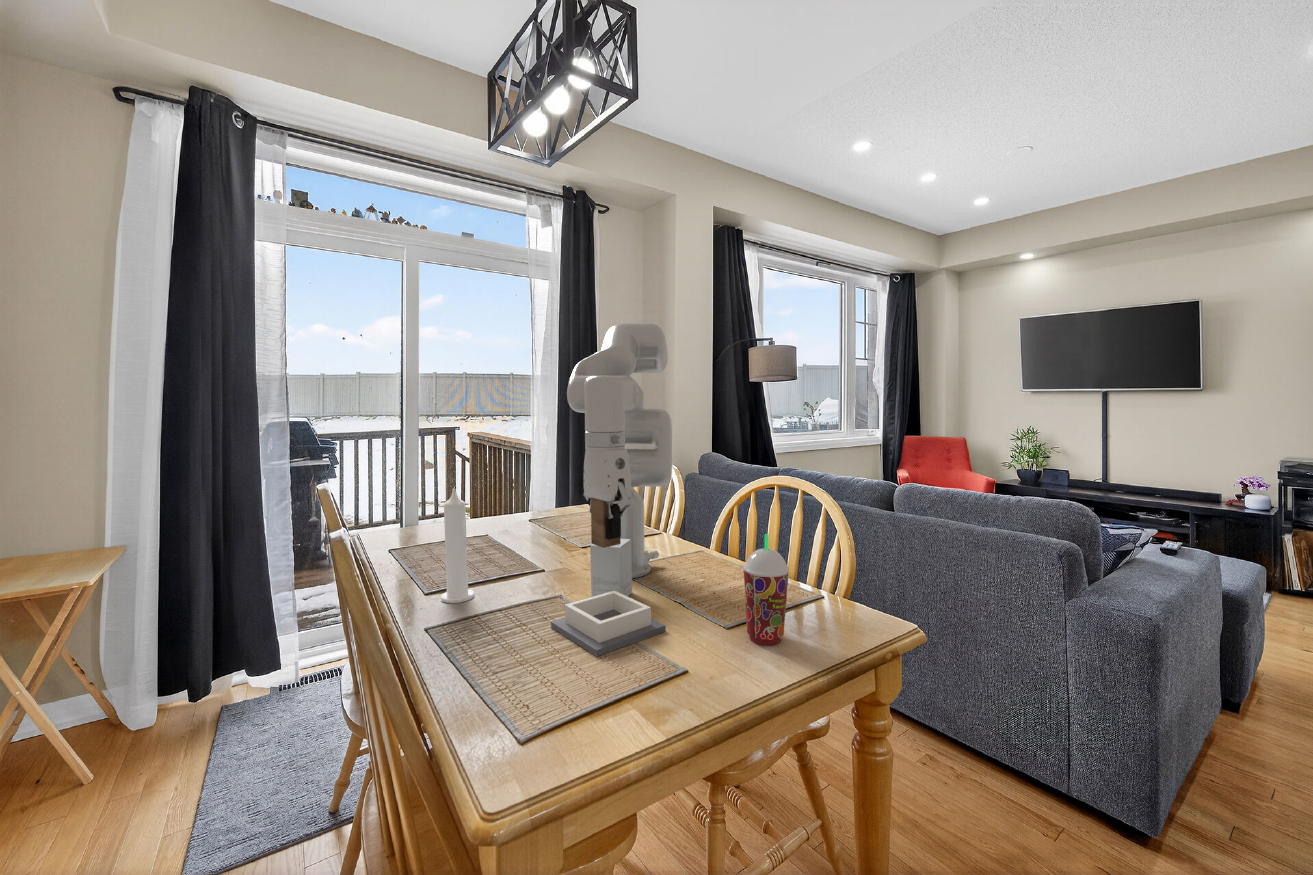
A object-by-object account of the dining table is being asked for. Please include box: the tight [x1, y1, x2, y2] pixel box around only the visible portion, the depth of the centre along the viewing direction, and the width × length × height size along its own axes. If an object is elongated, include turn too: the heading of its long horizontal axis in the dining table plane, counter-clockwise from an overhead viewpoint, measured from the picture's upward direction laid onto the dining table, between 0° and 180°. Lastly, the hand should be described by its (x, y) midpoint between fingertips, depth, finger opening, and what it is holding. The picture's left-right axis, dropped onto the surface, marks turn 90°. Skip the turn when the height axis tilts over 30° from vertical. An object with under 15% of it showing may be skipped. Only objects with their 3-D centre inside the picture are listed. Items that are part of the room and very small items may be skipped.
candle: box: [440, 488, 475, 604], centre depth 126 cm, size 7×7×25 cm
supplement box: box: [589, 539, 633, 597], centre depth 127 cm, size 7×7×13 cm
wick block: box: [590, 498, 621, 548], centre depth 108 cm, size 4×4×9 cm
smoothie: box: [742, 533, 790, 646], centre depth 105 cm, size 8×8×20 cm
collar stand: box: [550, 591, 666, 657], centre depth 110 cm, size 16×16×5 cm
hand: (606, 534), depth 108 cm, fingers closed on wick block, 4 cm apart
